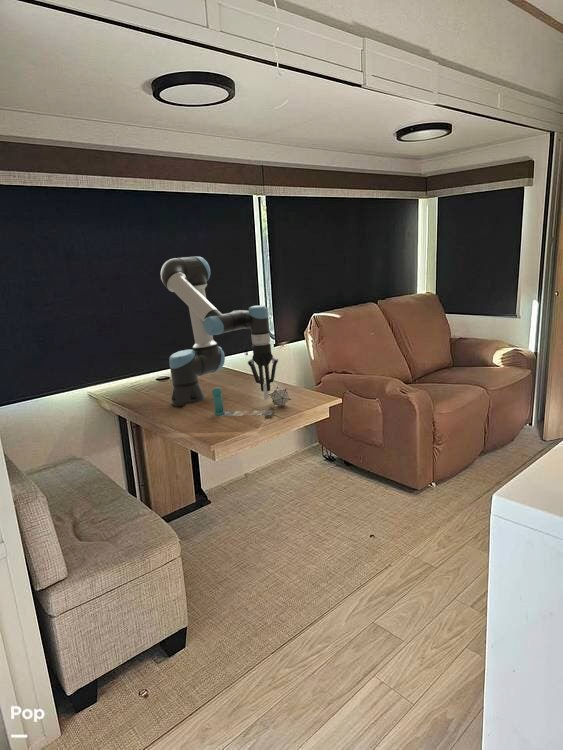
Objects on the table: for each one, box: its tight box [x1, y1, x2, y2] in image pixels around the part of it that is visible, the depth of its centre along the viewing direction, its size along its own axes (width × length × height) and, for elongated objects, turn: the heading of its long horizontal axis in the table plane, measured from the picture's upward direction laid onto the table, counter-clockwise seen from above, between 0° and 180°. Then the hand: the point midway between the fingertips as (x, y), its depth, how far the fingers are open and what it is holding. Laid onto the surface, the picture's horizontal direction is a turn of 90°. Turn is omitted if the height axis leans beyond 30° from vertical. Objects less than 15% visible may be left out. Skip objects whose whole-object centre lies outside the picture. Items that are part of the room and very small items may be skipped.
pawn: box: [211, 386, 226, 417], centre depth 204 cm, size 4×4×12 cm
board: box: [213, 409, 275, 419], centre depth 203 cm, size 24×6×1 cm, turn 81°
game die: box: [269, 386, 292, 409], centre depth 211 cm, size 9×8×10 cm
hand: (266, 398), depth 212 cm, fingers closed
